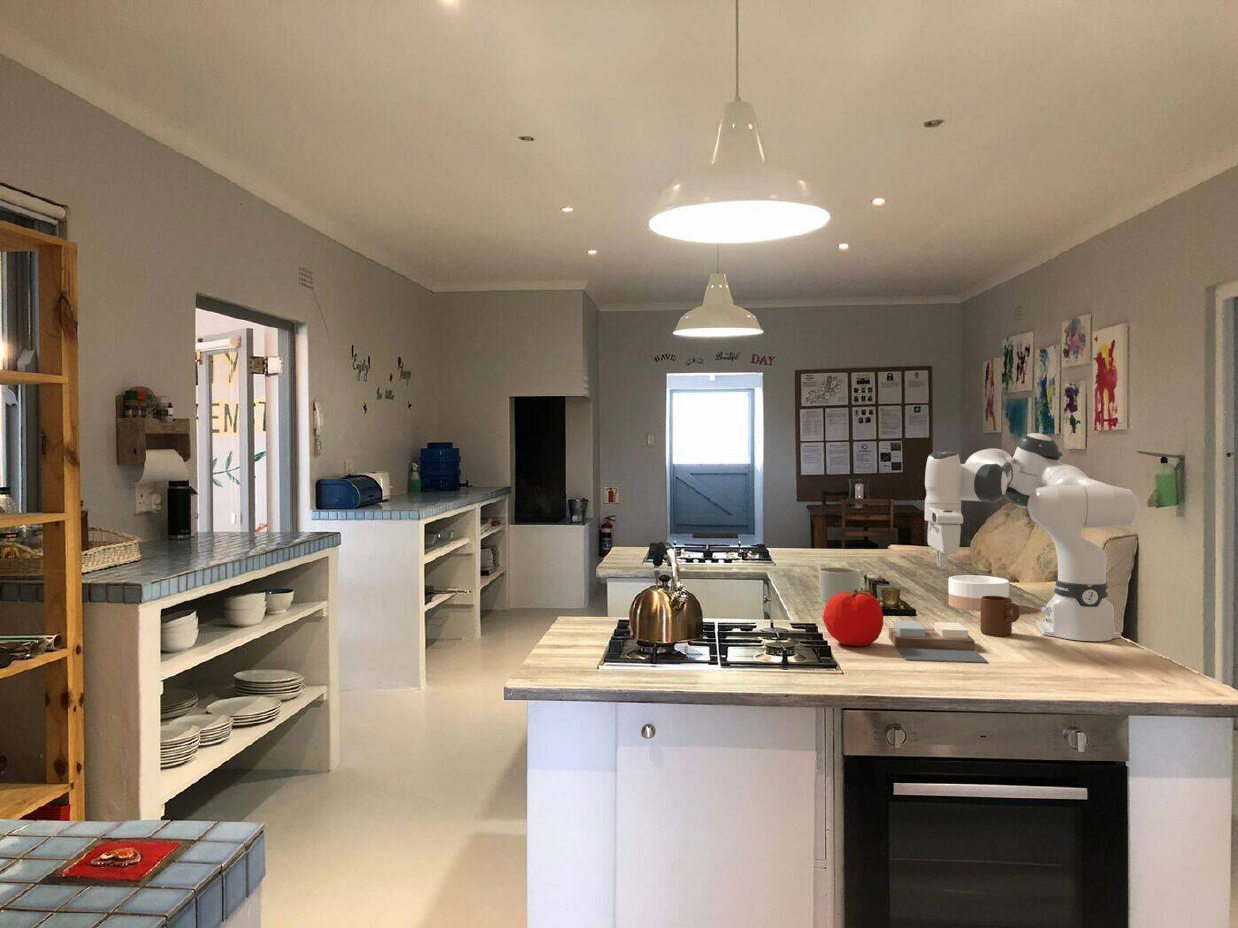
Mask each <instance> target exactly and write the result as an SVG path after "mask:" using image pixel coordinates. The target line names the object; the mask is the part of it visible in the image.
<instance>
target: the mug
mask: <svg viewBox="0 0 1238 928" xmlns="http://www.w3.org/2000/svg"><path fill="white" fill-rule="evenodd" d="M1020 615H1021V610H1020V607H1019V606H1018V605H1017V604H1016V603H1014V602H1013V599H1012V598H1011V597H1009V598H1008V597H1002V596H983V597H981V611H980V632H981V634H984V635H985V636H991V637H1009V636H1011V635H1012V632H1013V630H1012V628H1013V623H1016V622H1017V621H1018V620H1019V619H1020Z"/></svg>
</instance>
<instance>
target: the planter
mask: <svg viewBox="0 0 1238 928" xmlns="http://www.w3.org/2000/svg"><path fill="white" fill-rule="evenodd" d="M861 572H862V571H861V570H860V569H857V568H852V567H843V566H842V567H841V566H840V567H838V566H835V567H821V568H819V571H818V577H819V578H818V580H819V590H820V591H819V592H820V598H821V600H822V602H824V603H825V605H826V604H827V603H828V601H829V600H830V598H832V597H833V596H834V595H837V594H840V593H843V592H846V591H850V592H851V591H854V590H855V589H857V590H858V592H859V591H861V590H860V588H861V576H862V575H861V574H862V573H861Z"/></svg>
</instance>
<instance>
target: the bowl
mask: <svg viewBox="0 0 1238 928" xmlns="http://www.w3.org/2000/svg"><path fill="white" fill-rule="evenodd" d="M947 588H948V606H950V607H952V608H956V609H959V610H966V611H974V612H981V597H983V596H1002V597H1008V598H1010V581H1009V580H1008V579H1006V578H1002V577H997V576H989V575H988V576H987V575H978V574H977V575H975V574H974V575H973V574H968V575H964V574H963V575H962V574H961V575H953V576H950V577H948V587H947Z"/></svg>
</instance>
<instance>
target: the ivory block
mask: <svg viewBox="0 0 1238 928" xmlns="http://www.w3.org/2000/svg"><path fill="white" fill-rule="evenodd" d="M933 623H934V625H933V626H934V628H933V629H934V630H935V631H936V632H937V633H938V634H939V635H940V636H941V637H942V638H965V639H968V635H969V630H968V629H967V628H966V627H965V626H964V625H962V624H961V623H960V622H945V621H944V622H939V621H938V622H937V621H934V622H933Z"/></svg>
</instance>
